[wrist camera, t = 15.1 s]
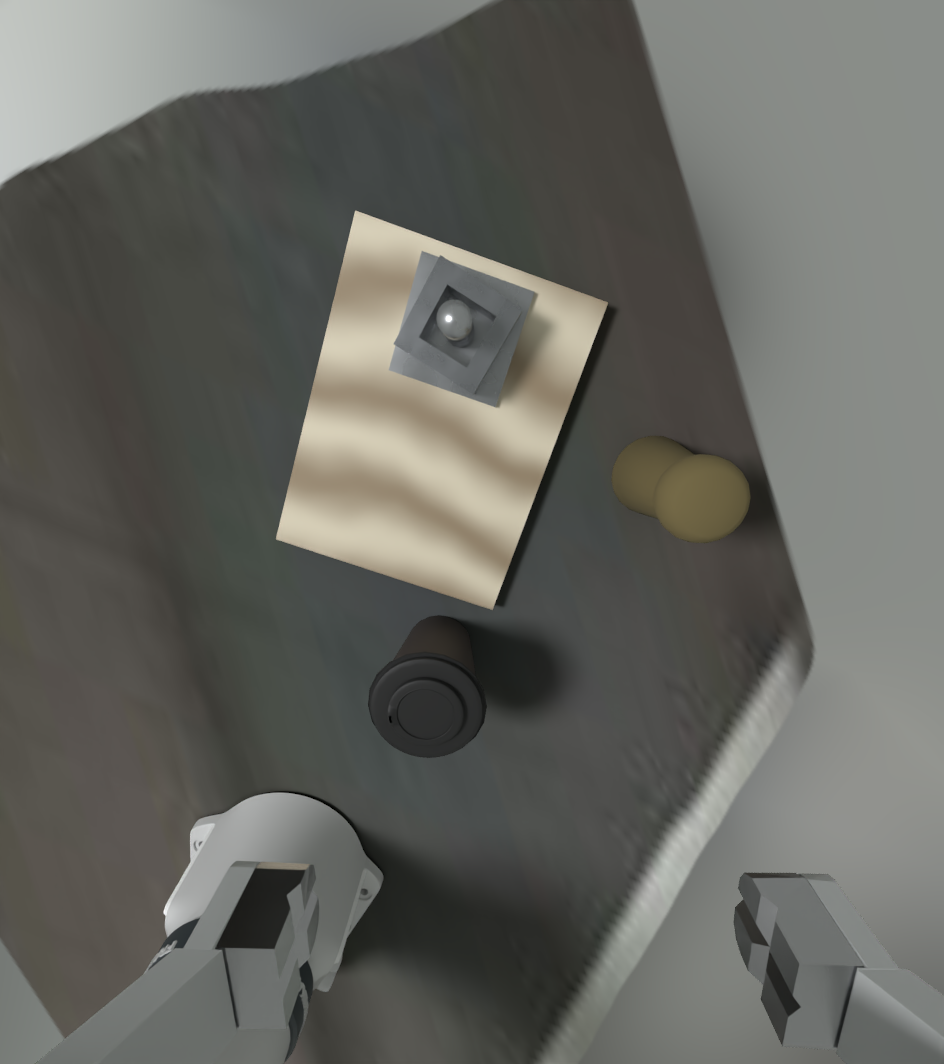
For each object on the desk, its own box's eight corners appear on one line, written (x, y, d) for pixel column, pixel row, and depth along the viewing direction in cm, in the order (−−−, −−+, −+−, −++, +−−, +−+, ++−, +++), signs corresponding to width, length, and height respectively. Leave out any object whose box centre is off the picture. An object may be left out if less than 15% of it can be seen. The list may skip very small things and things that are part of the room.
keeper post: (495, 407, 36) (496, 409, 30) (389, 370, 36) (368, 364, 30) (534, 292, 34) (544, 269, 28) (422, 252, 34) (407, 219, 28)
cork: (702, 495, 39) (782, 532, 28) (627, 526, 40) (678, 573, 29) (676, 422, 37) (751, 431, 27) (600, 455, 38) (642, 477, 28)
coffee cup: (372, 634, 43) (338, 703, 33) (448, 581, 41) (436, 637, 32) (431, 703, 44) (414, 788, 35) (506, 654, 43) (511, 729, 33)
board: (492, 604, 42) (492, 609, 40) (282, 535, 41) (276, 539, 40) (604, 305, 35) (608, 302, 34) (359, 216, 35) (355, 210, 33)
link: (474, 394, 36) (473, 394, 33) (401, 348, 35) (393, 344, 32) (520, 316, 34) (522, 309, 31) (444, 267, 34) (440, 254, 31)
